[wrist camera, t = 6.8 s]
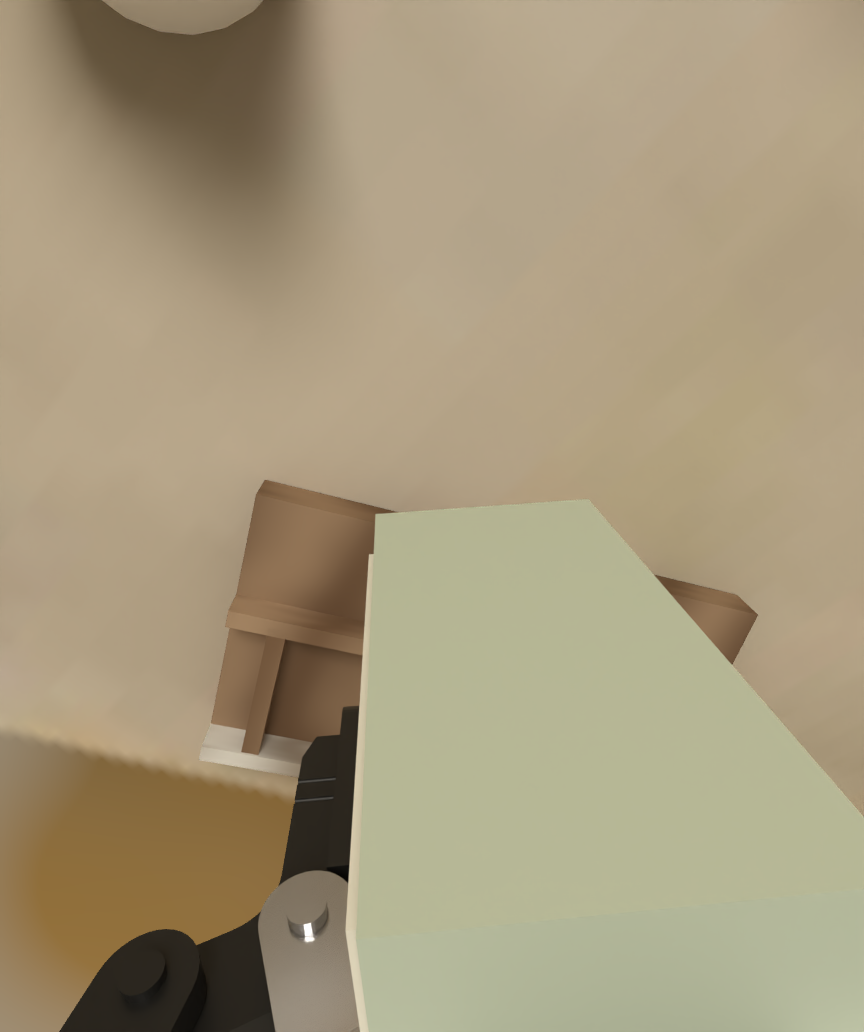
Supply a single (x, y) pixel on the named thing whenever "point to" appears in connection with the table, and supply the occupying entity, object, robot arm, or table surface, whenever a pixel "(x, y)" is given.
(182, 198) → the table surface
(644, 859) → the sage tea box
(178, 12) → the white upright block
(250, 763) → the display rack
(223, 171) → the table surface
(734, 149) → the table surface
